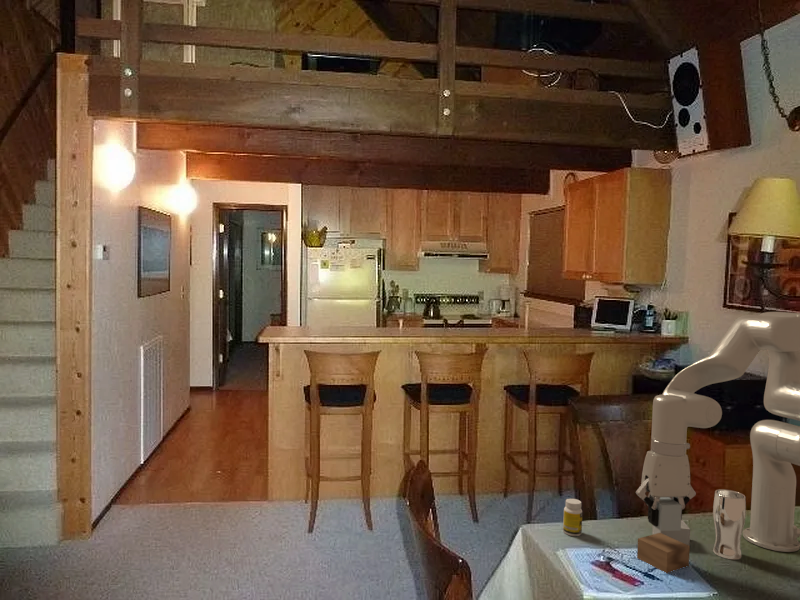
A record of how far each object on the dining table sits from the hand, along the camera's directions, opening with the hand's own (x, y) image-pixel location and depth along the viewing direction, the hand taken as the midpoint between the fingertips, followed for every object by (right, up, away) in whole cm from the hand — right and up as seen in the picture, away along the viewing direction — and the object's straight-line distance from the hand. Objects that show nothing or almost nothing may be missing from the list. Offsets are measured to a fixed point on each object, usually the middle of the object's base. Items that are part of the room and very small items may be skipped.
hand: (664, 523), depth 137 cm
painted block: (0, -1, 0) cm, 1 cm away
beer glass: (+18, -10, +6) cm, 21 cm away
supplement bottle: (-17, -9, +15) cm, 25 cm away
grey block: (+7, -10, +12) cm, 17 cm away
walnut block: (0, -10, 0) cm, 10 cm away
